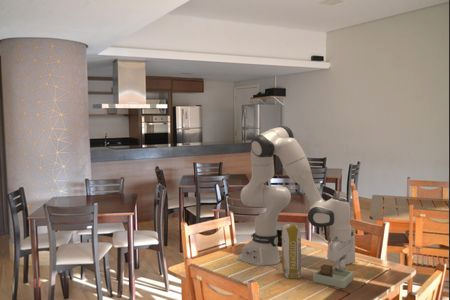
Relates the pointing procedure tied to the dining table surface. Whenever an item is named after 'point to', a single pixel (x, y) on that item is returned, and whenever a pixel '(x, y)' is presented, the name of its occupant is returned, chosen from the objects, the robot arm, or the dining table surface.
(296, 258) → the juice carton
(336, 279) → the tray
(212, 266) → the dining table surface
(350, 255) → the milk carton
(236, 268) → the dining table surface
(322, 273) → the walnut block
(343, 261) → the aluminium bushing
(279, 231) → the coffee mug
